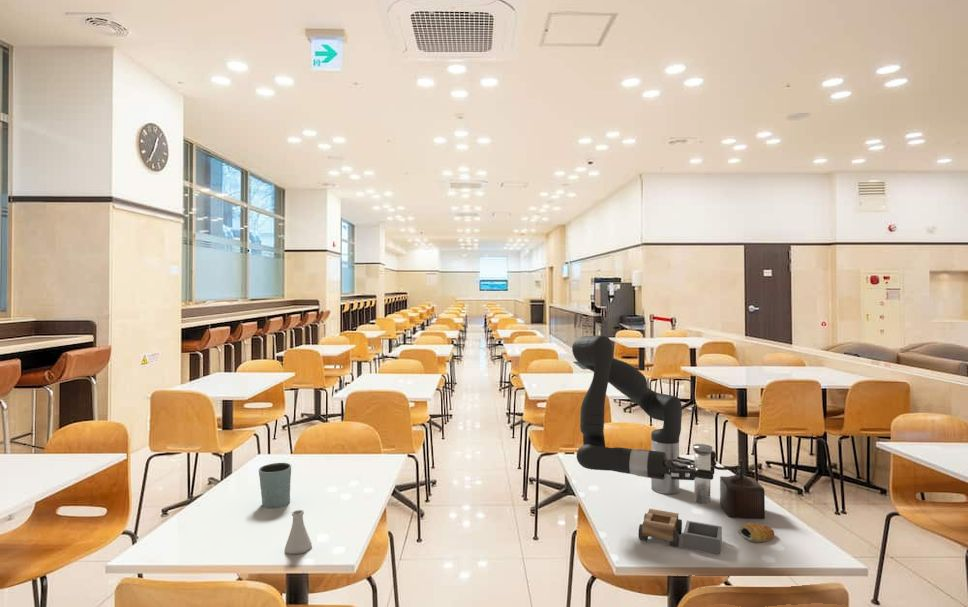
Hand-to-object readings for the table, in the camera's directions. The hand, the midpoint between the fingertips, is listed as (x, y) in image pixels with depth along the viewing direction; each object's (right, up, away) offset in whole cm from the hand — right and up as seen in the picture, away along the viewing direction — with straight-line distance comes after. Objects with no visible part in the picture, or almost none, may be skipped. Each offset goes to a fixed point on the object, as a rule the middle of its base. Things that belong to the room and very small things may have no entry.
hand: (713, 472), depth 143 cm
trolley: (-12, -20, +8) cm, 24 cm away
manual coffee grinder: (+16, -20, +24) cm, 35 cm away
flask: (-112, -21, +1) cm, 114 cm away
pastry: (+14, -20, +6) cm, 26 cm away
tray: (-2, -20, +2) cm, 20 cm away
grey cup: (-131, -21, +33) cm, 137 cm away
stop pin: (-2, -8, +1) cm, 9 cm away
